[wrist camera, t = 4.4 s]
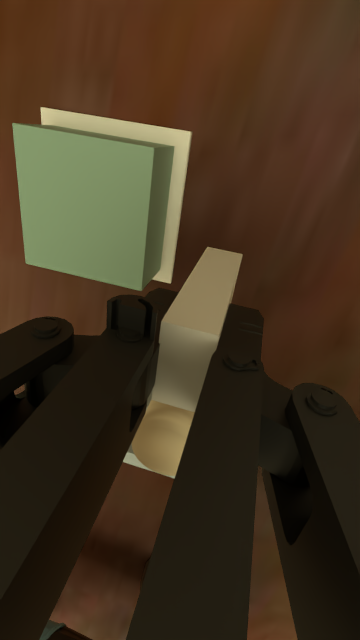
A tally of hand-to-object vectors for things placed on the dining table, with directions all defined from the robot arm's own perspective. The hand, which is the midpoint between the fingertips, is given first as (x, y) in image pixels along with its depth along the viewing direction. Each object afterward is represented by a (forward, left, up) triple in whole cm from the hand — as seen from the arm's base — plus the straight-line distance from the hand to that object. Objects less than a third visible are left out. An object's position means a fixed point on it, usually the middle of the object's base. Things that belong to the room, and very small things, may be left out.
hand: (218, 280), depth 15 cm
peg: (+1, +11, -12) cm, 16 cm away
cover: (+10, 0, -11) cm, 15 cm away
